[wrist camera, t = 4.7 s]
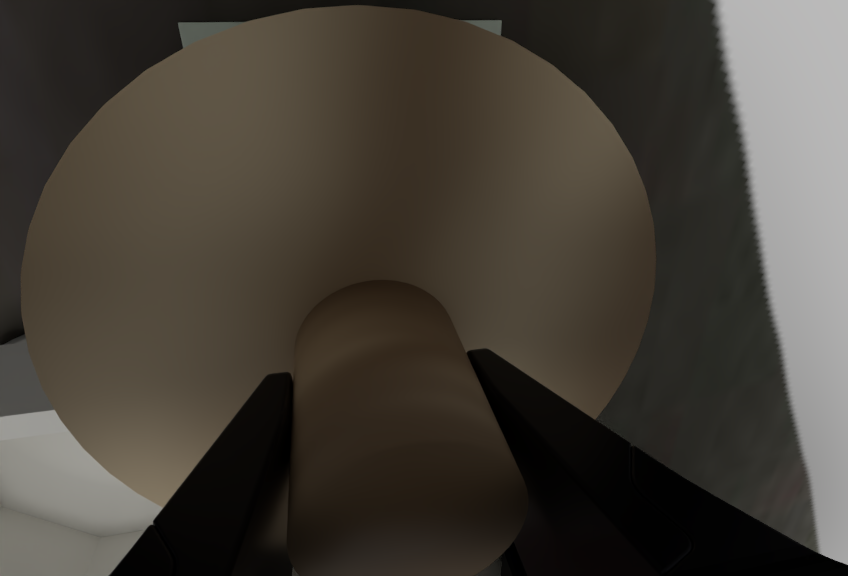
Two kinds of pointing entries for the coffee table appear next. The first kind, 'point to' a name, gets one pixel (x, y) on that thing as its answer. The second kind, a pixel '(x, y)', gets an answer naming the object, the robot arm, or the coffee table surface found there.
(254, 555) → the robot arm
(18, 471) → the bowl
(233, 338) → the lid
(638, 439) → the coffee table surface
